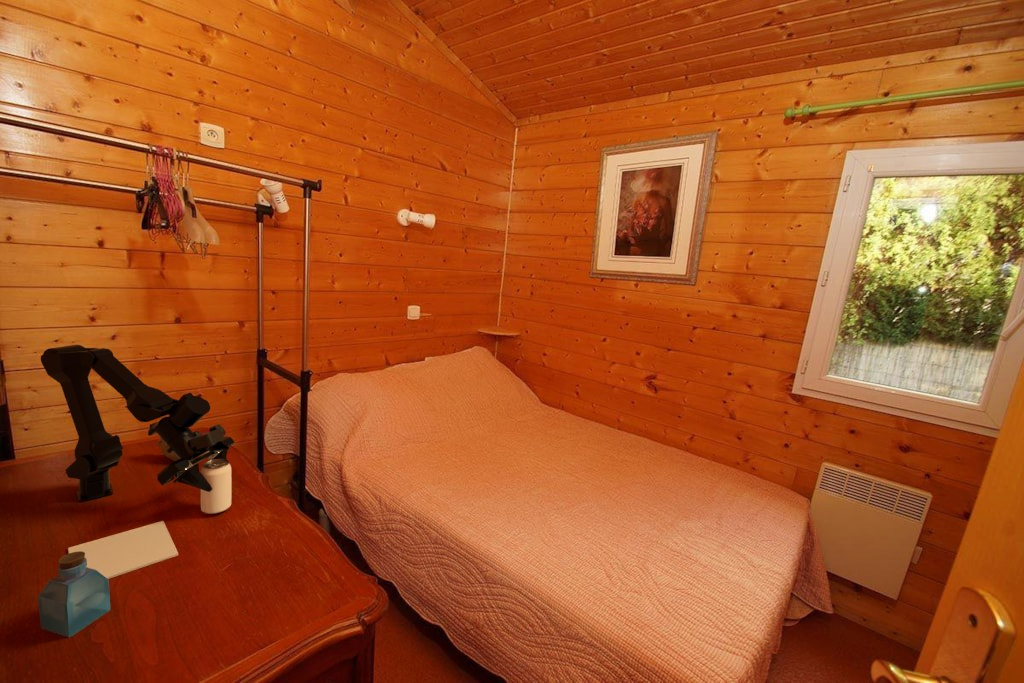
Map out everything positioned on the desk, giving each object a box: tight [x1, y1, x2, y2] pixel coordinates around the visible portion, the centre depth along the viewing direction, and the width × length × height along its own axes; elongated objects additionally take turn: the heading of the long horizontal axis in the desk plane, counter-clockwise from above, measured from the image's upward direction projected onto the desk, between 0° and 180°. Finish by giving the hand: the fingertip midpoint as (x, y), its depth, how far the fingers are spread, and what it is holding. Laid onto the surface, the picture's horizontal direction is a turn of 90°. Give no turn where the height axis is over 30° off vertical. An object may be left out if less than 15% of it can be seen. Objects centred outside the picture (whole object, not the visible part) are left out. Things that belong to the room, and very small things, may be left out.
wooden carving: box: [155, 436, 179, 462], centre depth 133 cm, size 16×5×10 cm, turn 80°
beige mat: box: [67, 520, 179, 580], centre depth 93 cm, size 16×16×1 cm
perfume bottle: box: [37, 551, 111, 639], centre depth 75 cm, size 6×6×12 cm
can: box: [200, 459, 232, 515], centre depth 109 cm, size 6×6×12 cm
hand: (220, 484), depth 109 cm, fingers closed on can, 6 cm apart
